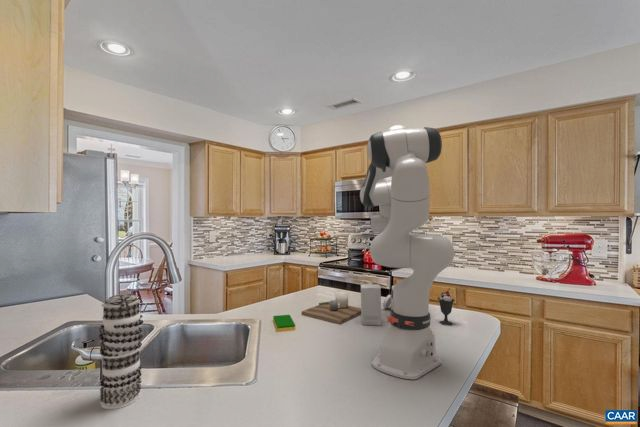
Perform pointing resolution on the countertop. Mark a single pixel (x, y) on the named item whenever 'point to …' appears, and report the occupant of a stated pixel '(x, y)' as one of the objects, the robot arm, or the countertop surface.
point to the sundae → (446, 306)
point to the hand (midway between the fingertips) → (393, 240)
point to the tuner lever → (339, 300)
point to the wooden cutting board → (332, 313)
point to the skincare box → (371, 304)
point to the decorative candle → (120, 351)
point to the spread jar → (389, 300)
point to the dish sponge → (284, 323)
